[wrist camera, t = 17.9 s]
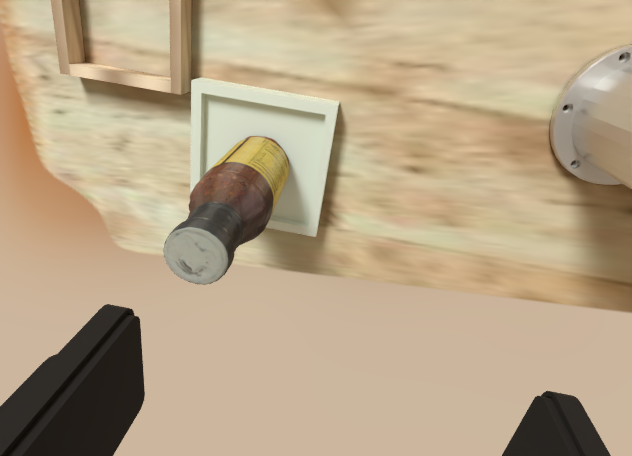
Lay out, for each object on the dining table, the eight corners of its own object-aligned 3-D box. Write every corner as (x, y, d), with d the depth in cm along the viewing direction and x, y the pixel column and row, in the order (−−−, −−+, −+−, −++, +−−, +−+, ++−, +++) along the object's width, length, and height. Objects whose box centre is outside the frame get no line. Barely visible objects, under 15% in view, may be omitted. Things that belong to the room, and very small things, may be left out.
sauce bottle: (242, 194, 44) (157, 308, 26) (225, 138, 41) (118, 221, 24) (301, 185, 43) (253, 297, 25) (286, 126, 40) (222, 204, 22)
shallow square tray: (339, 101, 40) (338, 105, 38) (318, 227, 46) (315, 237, 44) (201, 77, 40) (191, 80, 38) (198, 204, 47) (190, 213, 44)
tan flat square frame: (192, -64, 35) (180, -70, 33) (191, 91, 41) (181, 94, 39) (59, -86, 36) (38, -93, 33) (77, 71, 41) (60, 73, 39)
